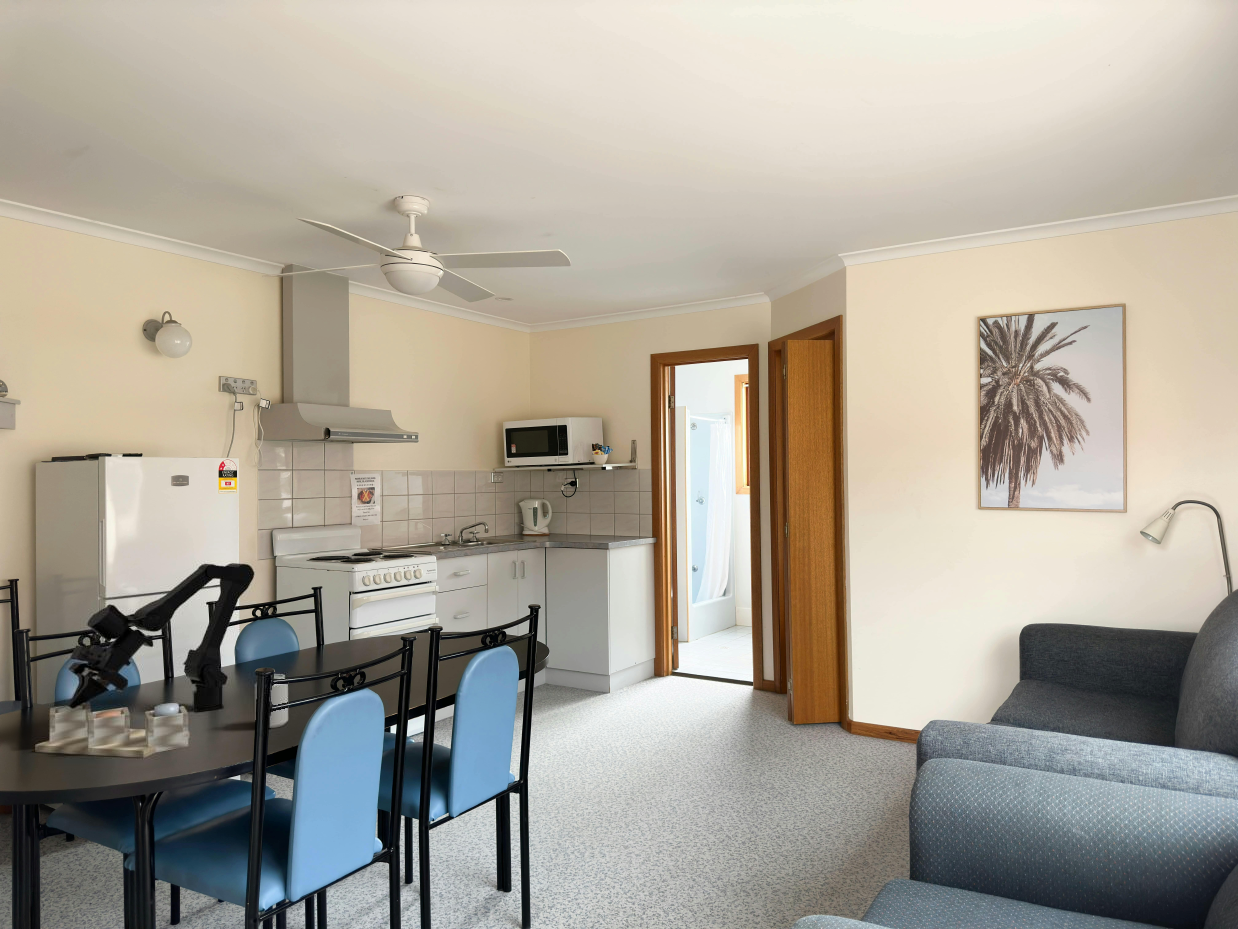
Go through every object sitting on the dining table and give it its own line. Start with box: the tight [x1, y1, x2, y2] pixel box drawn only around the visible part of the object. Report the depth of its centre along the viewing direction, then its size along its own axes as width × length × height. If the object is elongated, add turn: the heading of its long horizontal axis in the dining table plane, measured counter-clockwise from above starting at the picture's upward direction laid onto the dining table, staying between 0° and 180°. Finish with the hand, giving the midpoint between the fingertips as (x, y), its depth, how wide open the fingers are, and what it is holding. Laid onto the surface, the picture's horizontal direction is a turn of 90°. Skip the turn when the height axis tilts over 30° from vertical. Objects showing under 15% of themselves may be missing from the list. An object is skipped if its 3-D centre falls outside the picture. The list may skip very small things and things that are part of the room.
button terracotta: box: [96, 711, 121, 718], centre depth 185 cm, size 5×5×3 cm
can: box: [254, 673, 289, 729], centre depth 200 cm, size 8×8×12 cm
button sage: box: [58, 706, 83, 713], centre depth 190 cm, size 5×5×3 cm
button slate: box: [153, 702, 180, 717], centre depth 185 cm, size 5×5×3 cm
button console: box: [34, 701, 191, 759], centre depth 187 cm, size 14×37×8 cm, turn 79°
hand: (70, 707), depth 190 cm, fingers closed, pressing on button sage
